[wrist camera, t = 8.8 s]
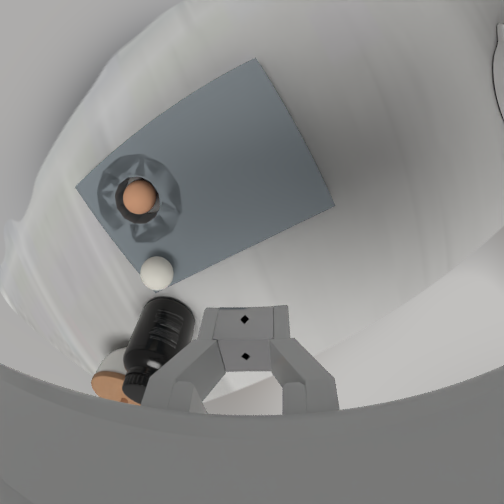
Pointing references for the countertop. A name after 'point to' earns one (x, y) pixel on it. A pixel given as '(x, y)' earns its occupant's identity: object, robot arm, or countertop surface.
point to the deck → (210, 176)
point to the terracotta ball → (139, 197)
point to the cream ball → (156, 273)
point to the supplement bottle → (155, 343)
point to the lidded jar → (111, 378)
